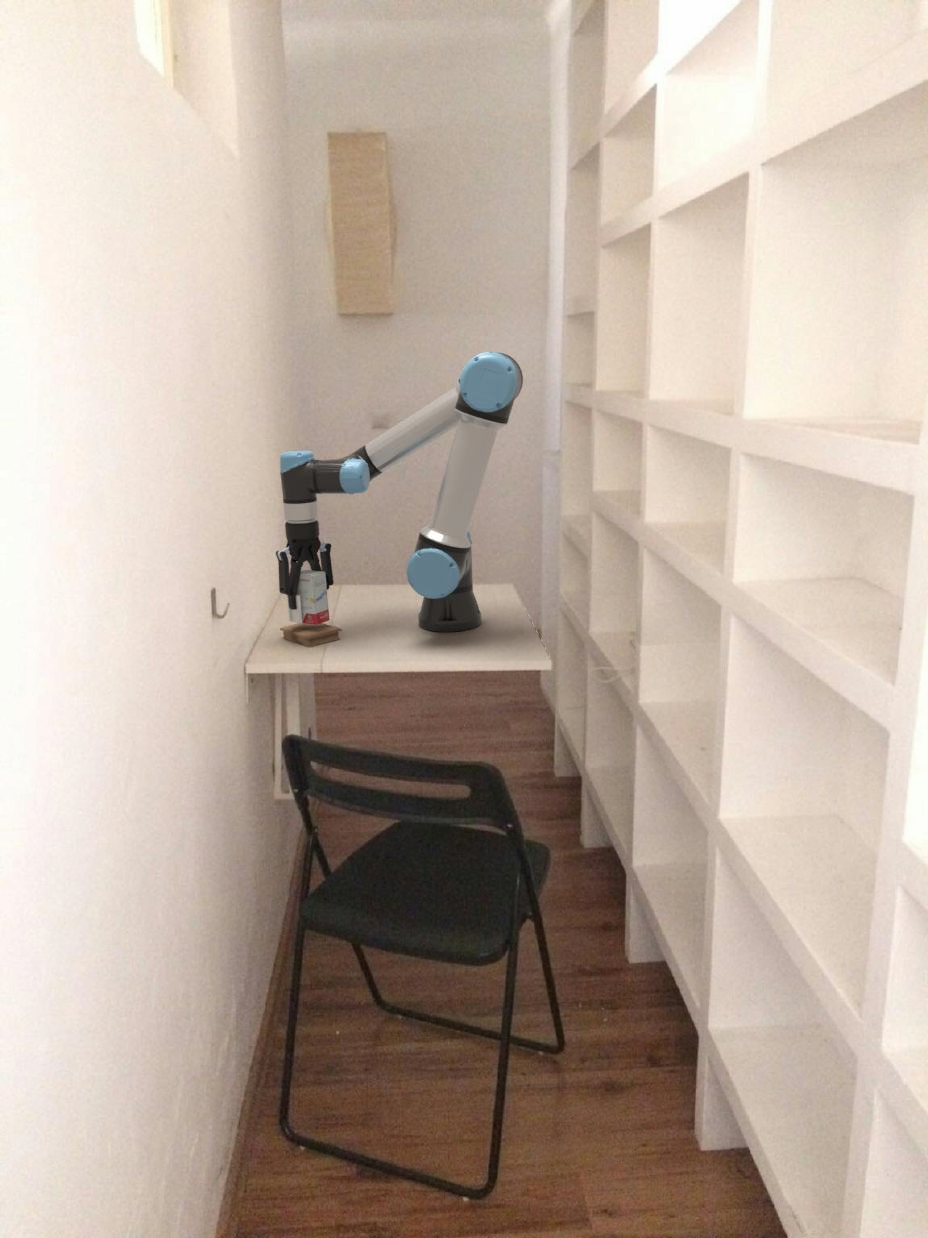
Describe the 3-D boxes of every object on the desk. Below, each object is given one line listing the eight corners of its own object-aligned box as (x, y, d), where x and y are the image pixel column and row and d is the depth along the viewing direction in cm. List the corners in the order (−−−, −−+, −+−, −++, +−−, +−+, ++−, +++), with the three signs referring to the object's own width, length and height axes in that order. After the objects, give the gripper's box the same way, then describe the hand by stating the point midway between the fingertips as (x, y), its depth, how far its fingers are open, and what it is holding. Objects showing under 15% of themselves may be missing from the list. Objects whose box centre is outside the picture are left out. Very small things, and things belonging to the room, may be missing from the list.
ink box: (330, 620, 224) (326, 570, 221) (316, 625, 220) (312, 575, 217) (302, 616, 229) (298, 567, 226) (288, 621, 225) (284, 571, 222)
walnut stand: (342, 639, 224) (341, 628, 223) (309, 647, 218) (308, 637, 218) (313, 630, 233) (312, 620, 232) (280, 638, 227) (279, 627, 226)
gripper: (326, 513, 227) (333, 609, 233) (256, 524, 215) (265, 625, 221) (345, 516, 222) (352, 614, 228) (274, 527, 210) (283, 630, 216)
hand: (309, 619), depth 224 cm, fingers closed on ink box, 6 cm apart
